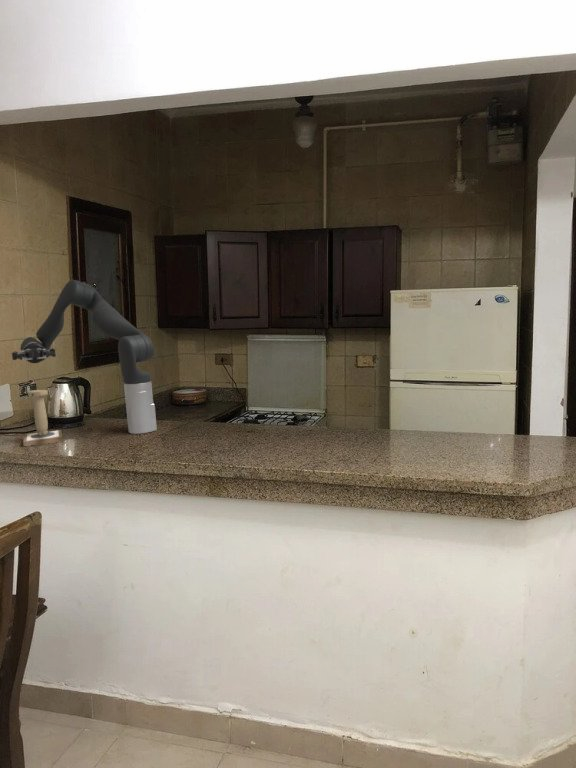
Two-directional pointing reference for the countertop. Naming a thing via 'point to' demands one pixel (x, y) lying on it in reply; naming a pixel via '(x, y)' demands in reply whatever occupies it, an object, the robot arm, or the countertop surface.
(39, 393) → the handle
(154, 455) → the countertop surface
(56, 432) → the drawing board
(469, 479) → the countertop surface
